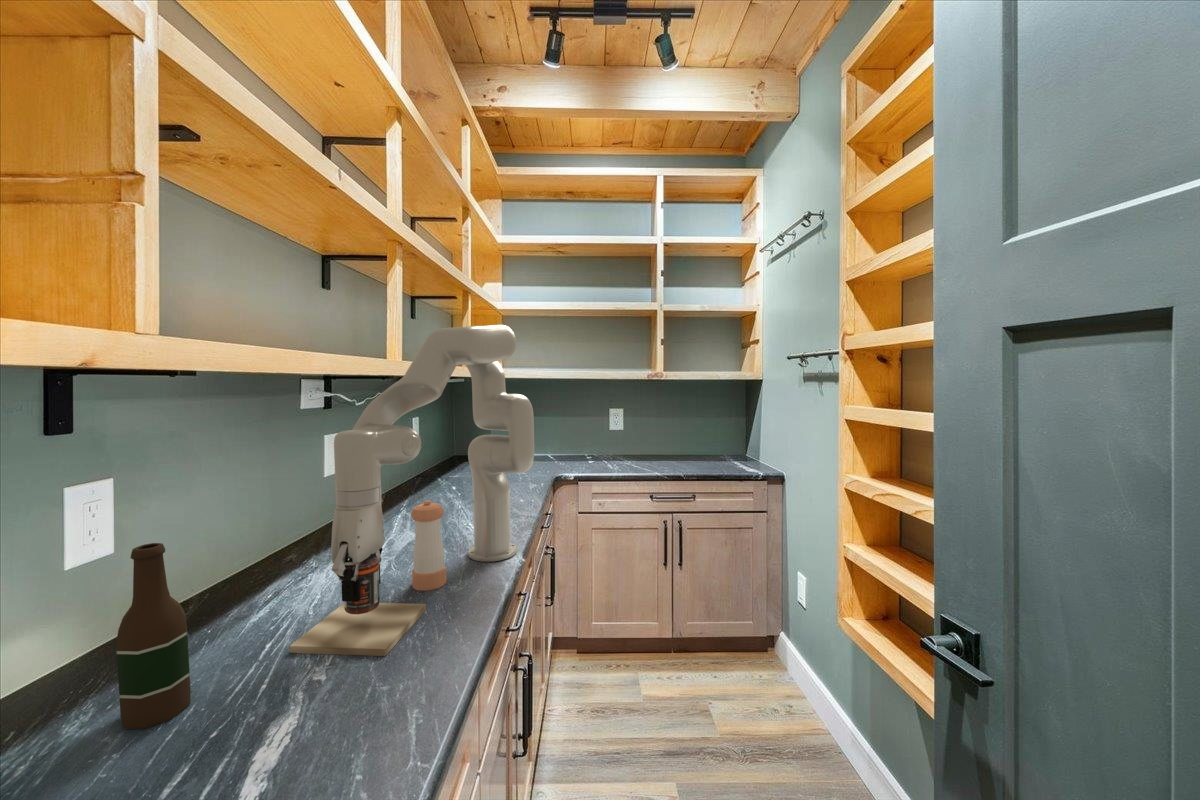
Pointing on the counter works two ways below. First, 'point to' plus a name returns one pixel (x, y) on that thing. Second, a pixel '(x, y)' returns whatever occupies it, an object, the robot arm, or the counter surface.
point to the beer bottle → (152, 647)
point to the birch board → (360, 631)
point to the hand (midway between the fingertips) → (362, 591)
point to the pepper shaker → (428, 547)
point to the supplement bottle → (366, 587)
